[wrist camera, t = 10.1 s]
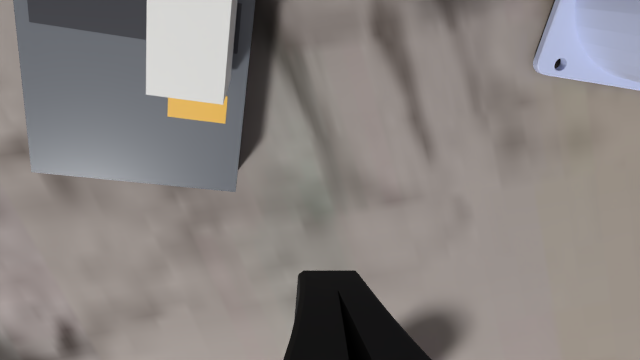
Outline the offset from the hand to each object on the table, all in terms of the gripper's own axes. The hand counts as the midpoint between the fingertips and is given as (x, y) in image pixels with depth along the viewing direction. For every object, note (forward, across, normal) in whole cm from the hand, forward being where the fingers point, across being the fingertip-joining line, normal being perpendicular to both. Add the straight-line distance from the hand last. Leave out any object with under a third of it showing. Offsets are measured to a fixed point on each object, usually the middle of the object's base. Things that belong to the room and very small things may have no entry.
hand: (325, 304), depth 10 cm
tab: (+7, +4, -5) cm, 9 cm away
